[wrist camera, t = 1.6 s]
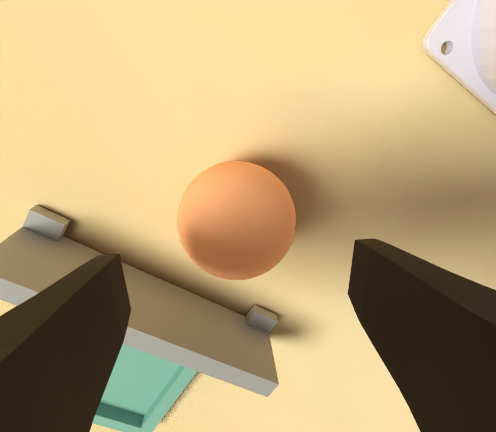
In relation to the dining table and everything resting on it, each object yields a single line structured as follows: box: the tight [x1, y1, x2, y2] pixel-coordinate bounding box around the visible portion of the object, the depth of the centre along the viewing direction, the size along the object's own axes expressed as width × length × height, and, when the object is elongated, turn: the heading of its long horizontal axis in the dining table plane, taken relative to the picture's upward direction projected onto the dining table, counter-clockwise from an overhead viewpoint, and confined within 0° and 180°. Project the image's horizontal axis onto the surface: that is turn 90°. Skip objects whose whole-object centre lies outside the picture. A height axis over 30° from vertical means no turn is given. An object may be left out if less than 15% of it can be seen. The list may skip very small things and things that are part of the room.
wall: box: [0, 205, 279, 397], centre depth 15 cm, size 14×3×4 cm, turn 58°
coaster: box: [92, 344, 197, 432], centre depth 19 cm, size 9×9×1 cm
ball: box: [177, 161, 296, 280], centre depth 13 cm, size 5×5×5 cm
